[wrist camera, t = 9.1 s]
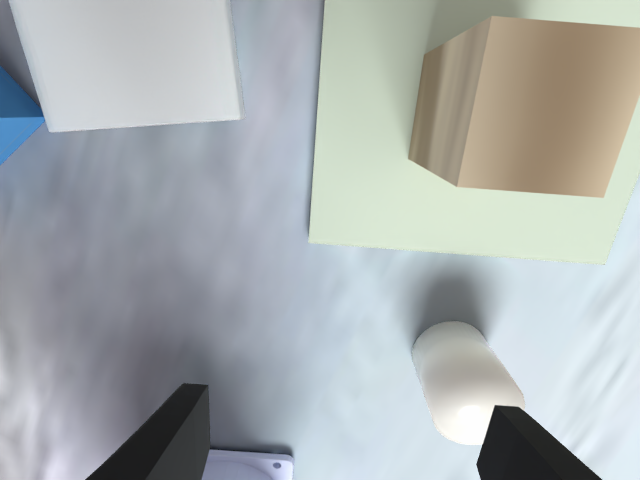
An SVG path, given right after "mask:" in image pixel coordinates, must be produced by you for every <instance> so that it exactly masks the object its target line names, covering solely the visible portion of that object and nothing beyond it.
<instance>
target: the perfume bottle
mask: <svg viewBox="0 0 640 480" xmlns="http://www.w3.org/2000/svg"><path fill="white" fill-rule="evenodd" d="M44 122H45V118H44V115H43V111H42V109H41V108H40V107H39V106H38V105H37V104H36V103H35V102H34V101H33V100H32V99H31V98H30V97H29V95H28V94H27V93H26V92H25V91H24V90H23V89H22V88H21V87H20V86H19V85H18V84H17V83H16V82H15V81H14V80H13V79H12V77H11V76H10V75H9V74H8V73H7V72H6V71H5V70H4V69H3V68H2V67H1V66H0V165H1V164H2V163H3V162H4V161H5V160H6V159H7V158H8V157H9V156H10V155H11V154H12V153H13V152H14V151H15V150H16V149H17V148H18V147H19V146H20V145H21V144H22V143H23V142H24V141H25V140H26V139H27V138H28V137H29V136H30V135H31V134H32V133H33V132H34V131H35V130H36V129H37V128H38V127H39V126H40V125H41V124H43V123H44Z"/></svg>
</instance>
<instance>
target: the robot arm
mask: <svg viewBox="0 0 640 480" xmlns="http://www.w3.org/2000/svg"><path fill="white" fill-rule="evenodd" d="M277 462H278V463H277ZM476 465H477V468H478V472H479V475H480V478H481V480H602V479H601V478H600V477H598V476H597V475H596V474H595V473H594V472H593V471H592V470H590V469H589V468H588V467H587V466H586V465H585V464H584V463H583V462H581V461H580V460H579V459H578V458H577V457H576V456H575V455H574V454H572V453H571V452H570V451H569V450H568V449H567V448H566V447H565V446H563V445H562V444H561V443H560V442H559V441H558V440H557V439H556V438H554V437H553V436H552V435H551V434H550V433H549V432H548V431H547V430H545V429H544V428H543V427H542V426H541V425H540V424H539V423H537V422H536V421H535V420H534V419H533V418H532V417H531V416H529V415H528V414H527V413H526V412H525V411H523V410H522V409H521V408H520V407H517V406H502V405H495V406H494V409H493V412H492V415H491V419H490V422H489V425H488V429H487V432H486V435H485V438H484V442H483V445H482V448H481V451H480V455H479V458H478V461H477V464H476ZM293 467H294V459H293V458H292V457H291V456H289V455H285V454H270V453H255V452H240V451H225V450H210V423H209V394H208V385H200V384H186V383H184V384H182V385H181V386H180V387H179V388H178V389H177V390H176V391H175V392H174V393H173V394H172V395H171V396H170V397H169V398H168V399H167V400H166V401H165V402H164V403H163V404H162V406H161V407H160V408H159V409H158V410H157V411H156V412H155V413H154V414H153V415H152V416H151V417H150V418H149V419H148V420H147V421H146V422H145V423H144V424H143V425H142V426H141V427H140V428H139V429H138V430H137V431H136V432H135V433H134V434H133V435H132V436H131V437H130V438H129V439H128V440H127V441H126V442H125V443H124V444H123V445H122V446H121V447H120V448H119V449H118V450H117V451H116V452H115V453H114V454H113V455H111V456H110V457H109V458H108V459H107V460H106V461H105V462H104V463H103V464H102V465H101V466H100V467H99V468H98V469H97V470H95V471H94V472H93V473H92V474H91V475H90V476H89V477H88V478H87V479H85V480H293Z"/></svg>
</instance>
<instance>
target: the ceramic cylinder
mask: <svg viewBox="0 0 640 480" xmlns="http://www.w3.org/2000/svg"><path fill="white" fill-rule="evenodd" d="M412 361H413V364H414V367H415V370H416V373H417V376H418V379H419V382H420V385H421V388H422V391H423V394H424V397H425V400H426V402H427V405H428V408H429V411H430V414H431V417H432V420H433V423H434V425H435V427H436V429H437V430H438V431H439V432H440V433H441V434H442V435H443V436H444V437H446V438H448V439H449V440H451V441H454V442H457V443H461V444H468V445H477V444H483V442H484V438H485V435H486V432H487V429H488V425H489V422H490V419H491V415H492V412H493V409H494V406H495V405H502V406H517V407H520V408H521V409H522V410H523V411H524V409H525V401H524V396H523V394H522V392H521V390H520V389H519V387H518V386H517V384H516V383H515V381H514V380H513V378H512V377H511V376H510V374H509V373H508V371H507V370H506V368H505V367H504V366H503V364H502V363H501V361H500V360H499V358H498V357H497V355H496V354H495V353H494V351H493V350H492V348H491V347H490V345H489V344H488V342H487V341H486V340H485V338H484V337H483V335H482V334H481V333H480V331H479V330H477V329H476V328H475V327H473V326H472V325H470V324H467V323H464V322H460V321H447V322H442V323H438V324H436V325H433V326H431V327H430V328H428V329H426V330H425V331H424V332H423V333H422V334H421V335H420V336H419V337H418V338H417V340H416V342H415V343H414V346H413V349H412Z"/></svg>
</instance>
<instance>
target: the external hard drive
mask: <svg viewBox="0 0 640 480" xmlns="http://www.w3.org/2000/svg"><path fill="white" fill-rule="evenodd" d="M8 1H9V4H10V8H11V11H12V14H13V17H14V21H15V24H16V28H17V31H18V34H19V38H20V41H21V44H22V47H23V50H24V54H25V57H26V60H27V63H28V67H29V70H30V73H31V76H32V79H33V83H34V86H35V89H36V92H37V96H38V99H39V102H40V105H41V108H42V111H43V115H44V118H45V122H46V125H47V128H48V130H49V132H50V133H54V132H68V131H82V130H97V129H111V128H126V127H140V126H154V125H169V124H183V123H198V122H213V121H227V120H242V119H245V118H246V116H245V109H244V102H243V94H242V86H241V78H240V70H239V63H238V56H237V49H236V41H235V33H234V25H233V18H232V10H231V2H230V0H8Z"/></svg>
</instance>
